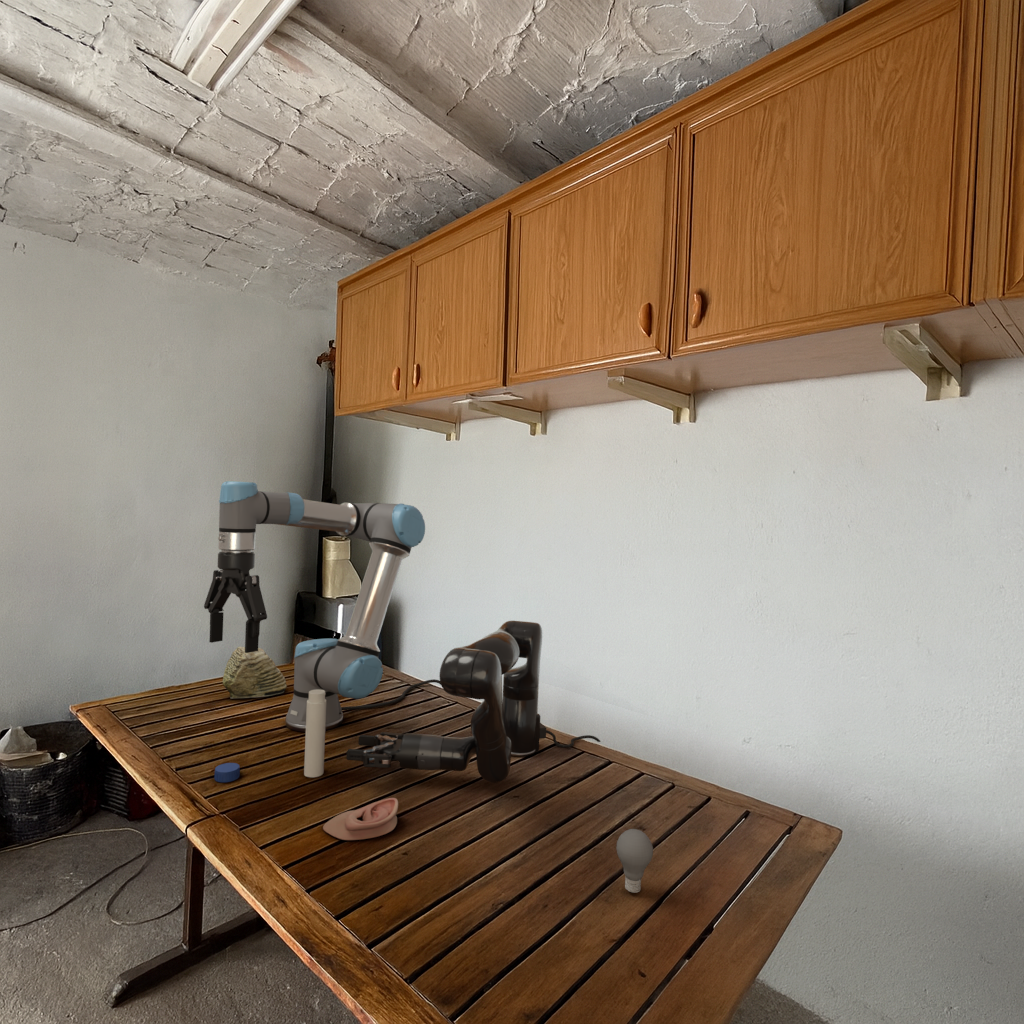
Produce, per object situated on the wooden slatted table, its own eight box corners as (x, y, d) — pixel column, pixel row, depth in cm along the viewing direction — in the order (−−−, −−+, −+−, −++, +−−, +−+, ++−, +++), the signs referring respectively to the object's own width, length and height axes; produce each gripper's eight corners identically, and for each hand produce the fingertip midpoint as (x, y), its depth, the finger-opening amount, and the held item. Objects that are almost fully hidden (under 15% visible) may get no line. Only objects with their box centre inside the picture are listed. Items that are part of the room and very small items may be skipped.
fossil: (218, 695, 195) (220, 647, 195) (278, 685, 208) (279, 640, 207) (228, 703, 189) (230, 653, 188) (289, 692, 201) (290, 645, 201)
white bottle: (327, 772, 146) (330, 690, 145) (314, 779, 142) (317, 695, 142) (313, 767, 148) (316, 687, 147) (299, 774, 144) (303, 692, 143)
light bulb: (610, 879, 108) (613, 822, 108) (644, 879, 109) (647, 822, 109) (619, 902, 102) (622, 840, 102) (655, 901, 103) (658, 840, 103)
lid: (222, 771, 144) (222, 761, 144) (244, 773, 143) (244, 763, 143) (209, 781, 138) (209, 771, 138) (232, 783, 138) (232, 773, 138)
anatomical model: (315, 814, 118) (343, 787, 129) (314, 835, 118) (343, 807, 129) (382, 825, 115) (405, 796, 127) (381, 846, 116) (404, 816, 127)
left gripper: (189, 547, 144) (186, 640, 144) (255, 556, 130) (251, 659, 130) (220, 546, 150) (217, 635, 151) (286, 555, 136) (282, 653, 137)
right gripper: (430, 724, 150) (363, 720, 152) (417, 747, 136) (343, 742, 137) (428, 755, 151) (361, 751, 152) (415, 782, 136) (341, 776, 137)
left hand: (233, 646), depth 141 cm, fingers open, 13 cm apart
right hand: (353, 747), depth 145 cm, fingers open, 8 cm apart
